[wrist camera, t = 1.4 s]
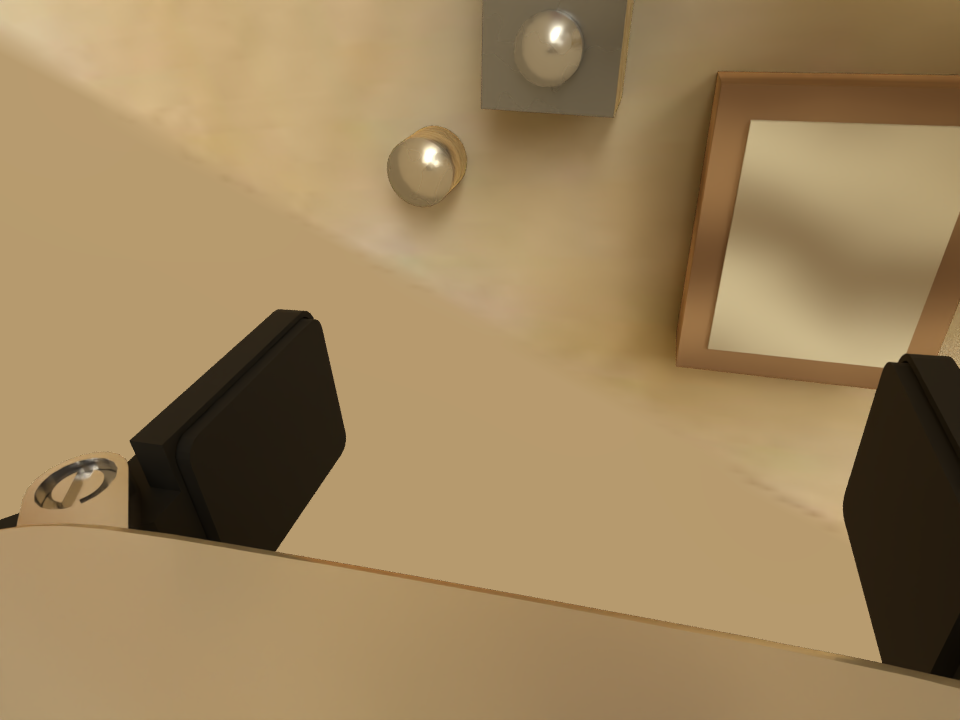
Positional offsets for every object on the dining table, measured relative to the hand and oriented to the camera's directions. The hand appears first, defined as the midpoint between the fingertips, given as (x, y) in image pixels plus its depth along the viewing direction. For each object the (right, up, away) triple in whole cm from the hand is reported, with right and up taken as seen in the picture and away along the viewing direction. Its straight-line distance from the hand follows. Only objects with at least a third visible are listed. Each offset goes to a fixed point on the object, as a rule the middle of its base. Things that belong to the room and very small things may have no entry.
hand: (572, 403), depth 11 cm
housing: (+2, +16, +15) cm, 22 cm away
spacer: (-4, +10, +20) cm, 22 cm away
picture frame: (+13, +7, +17) cm, 22 cm away
